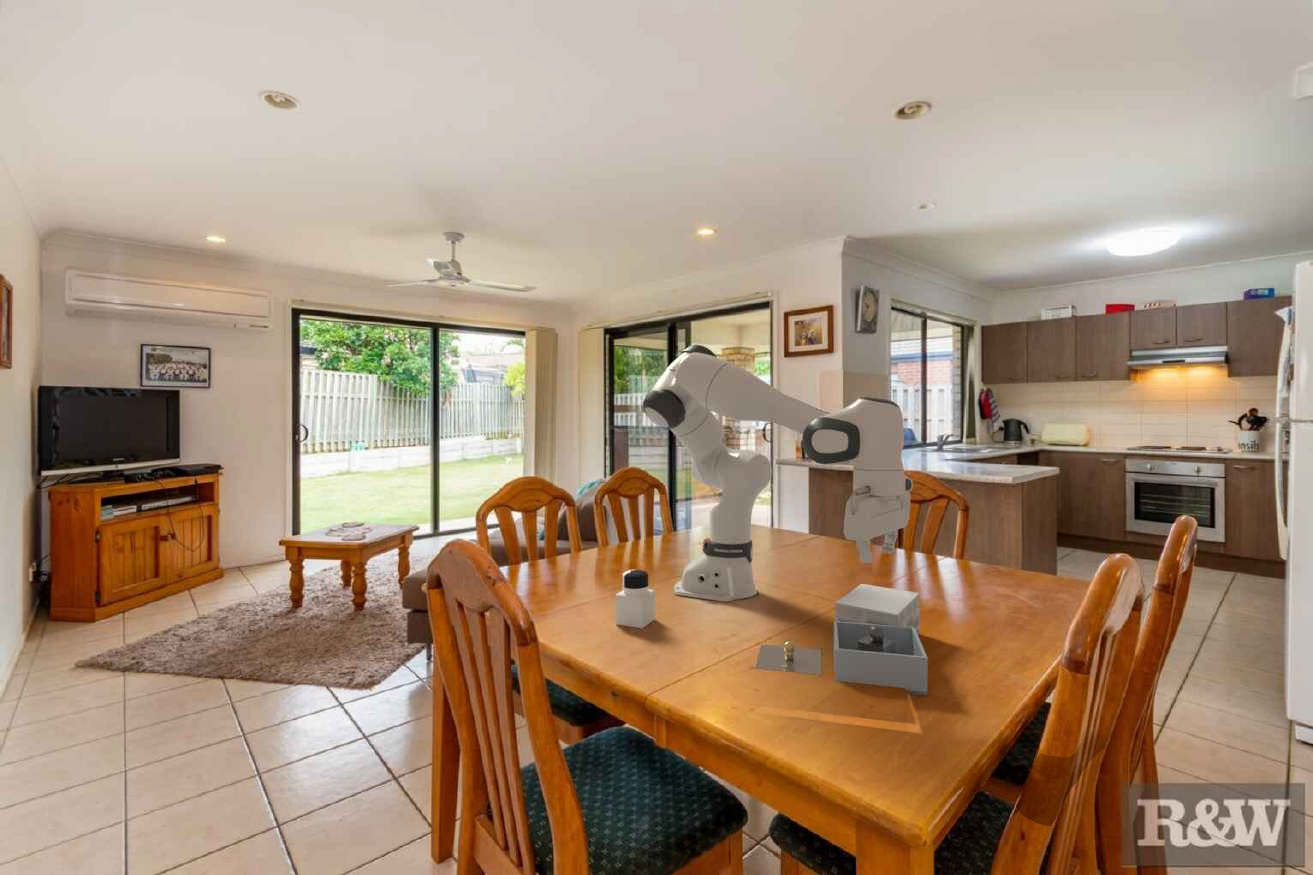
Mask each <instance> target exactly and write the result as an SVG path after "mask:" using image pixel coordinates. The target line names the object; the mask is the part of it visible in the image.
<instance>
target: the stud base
mask: <svg viewBox="0 0 1313 875" xmlns="http://www.w3.org/2000/svg"><path fill="white" fill-rule="evenodd" d="M755 663H756V664H755V668H754V669H758V670H765V671H767V670H768V671H776V672H787V673H796V674H806V675H814V676H822V649H817V648H816V649H814V648H804V647H803V648H802V647H796V645H795V643H794V642H793V641H791V640H787V641H786V642H784V644H783V645H772V644H764V643H763V644H760V648H759V651H758V656H757V659H756V662H755Z"/></svg>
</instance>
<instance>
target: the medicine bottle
mask: <svg viewBox="0 0 1313 875" xmlns="http://www.w3.org/2000/svg"><path fill="white" fill-rule="evenodd" d="M614 597H615V600H614V601H615V604H614V605H615V607H614V609H615V612H614V613H615V625H618V626H624V627H629V628H635V629H644V628H646V627H647V626H648V625H649V624H650V623H652V622H653V621H655V620H656V590H655V589H650V588H649V573H648V572H647V571H645V570H642V569H629V570H626V571H625V572H623V573H622V590H621V591H619V592H617V593H616V594H615V595H614Z"/></svg>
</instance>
